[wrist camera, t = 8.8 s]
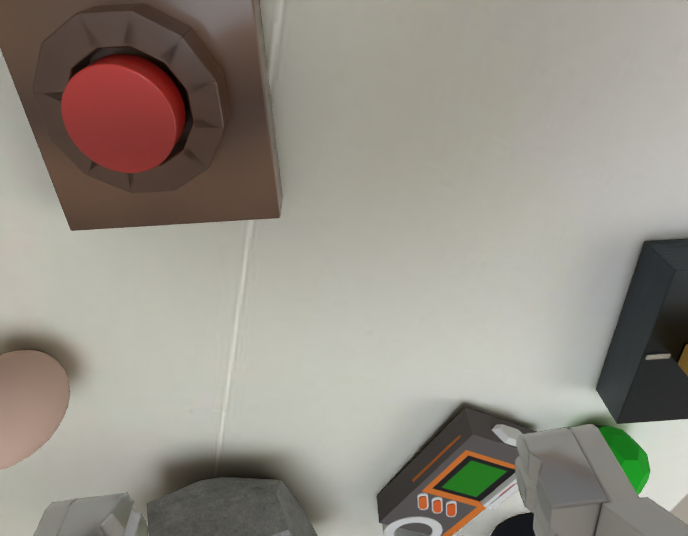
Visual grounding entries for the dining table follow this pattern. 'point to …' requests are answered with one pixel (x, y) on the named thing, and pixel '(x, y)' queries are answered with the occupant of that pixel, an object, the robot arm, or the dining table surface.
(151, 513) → the potted plant
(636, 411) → the block
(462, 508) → the electronic device
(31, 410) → the egg
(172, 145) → the button
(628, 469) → the polyhedron
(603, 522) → the robot arm
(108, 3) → the button block
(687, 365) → the tap handle
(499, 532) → the insulated water bottle
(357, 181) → the dining table surface
